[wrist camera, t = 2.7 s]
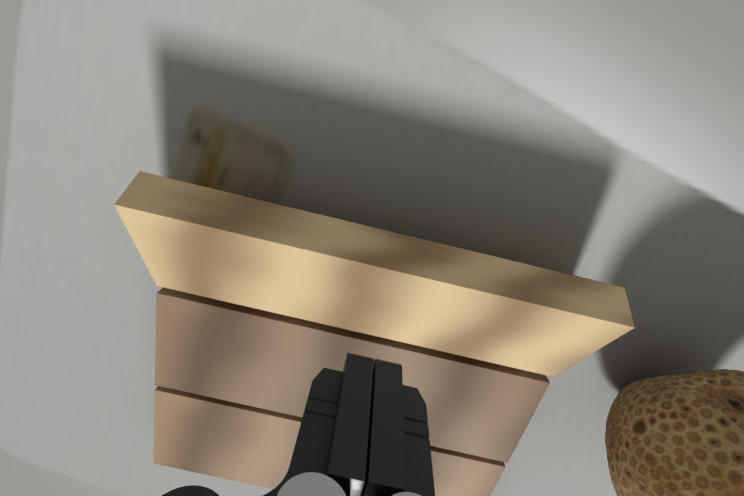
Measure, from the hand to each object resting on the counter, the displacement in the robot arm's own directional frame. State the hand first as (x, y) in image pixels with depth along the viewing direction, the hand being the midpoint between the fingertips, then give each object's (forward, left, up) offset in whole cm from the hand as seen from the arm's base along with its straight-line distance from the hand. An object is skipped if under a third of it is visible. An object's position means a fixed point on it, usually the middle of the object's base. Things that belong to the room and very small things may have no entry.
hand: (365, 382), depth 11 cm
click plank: (0, +1, -10) cm, 10 cm away
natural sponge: (-18, +6, -12) cm, 22 cm away
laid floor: (0, +12, -12) cm, 17 cm away
